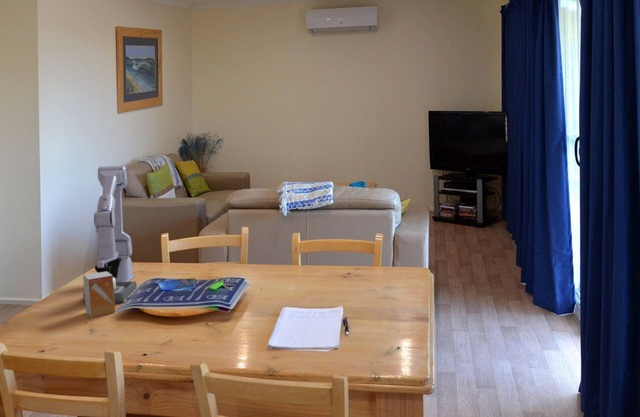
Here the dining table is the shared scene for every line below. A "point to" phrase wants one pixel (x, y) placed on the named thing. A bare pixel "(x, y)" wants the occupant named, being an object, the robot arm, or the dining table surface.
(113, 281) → the bottle
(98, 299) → the small box
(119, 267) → the robot arm
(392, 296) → the dining table surface
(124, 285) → the walled box
